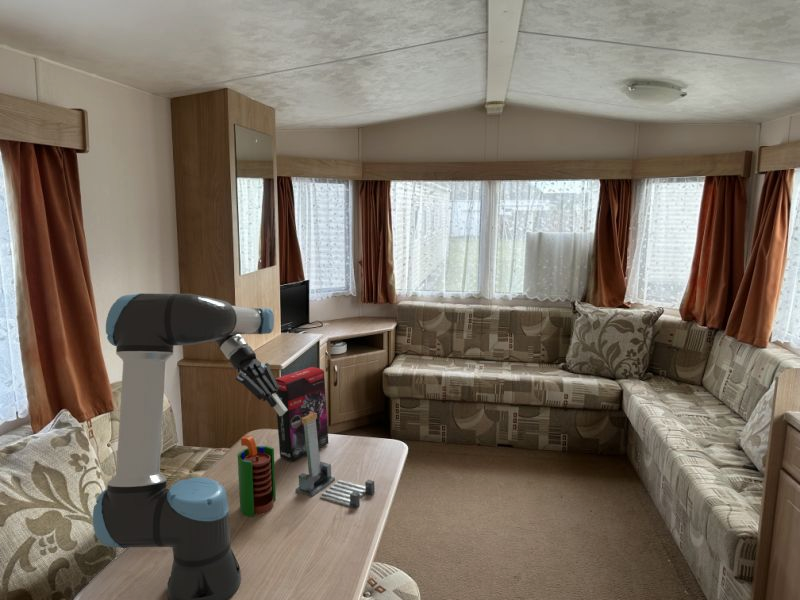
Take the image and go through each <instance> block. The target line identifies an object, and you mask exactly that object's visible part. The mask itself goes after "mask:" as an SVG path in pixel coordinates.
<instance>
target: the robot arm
mask: <svg viewBox="0 0 800 600" xmlns="http://www.w3.org/2000/svg"><path fill="white" fill-rule="evenodd" d="M272 310H273V309H271V308H263V307H261V308H251V307H245V306H238V305H232V304H231V303H229V302H227V301H226V300H223V299H217V298H213V297H210V296H205V295H199V294H193V293H136V294H135V293H134V294H125V295H122V296H120V297H119V298H117V299H116V300H115V301H114V302H113V304H112V305H111V307H110V309H109V310H108V312H107V317H106V319H105V320H106V322H105V333H106V335H107V337H106V339H107V341H108V343H110V344H111V345H112V346H114V347H115V348H116V350H115V354H116V355H117V356H118V358H120V359H121V360H122V377H121V378H122V379H121V392H120V407H119V422H118V423H119V424H118V439H117V441H118V442H117V455H116V467H115V468H116V470H115V471H116V473H115V475H114V476H113V477H112V478H111V479H110V480H109V481H107V488H106V489H104V490H102V491H101V492H100V493H99V494H98V496H97V498H96V500H95V503H96V504H94V506H93V511H92V527H93V530H94V534H95V536H96V538H97V539H98V540H99V542H100V543H101V544H102V545H104V546H106V547H111V548H112V547H113V548H120V549H128V548H172V553H173V554H172V555H173V562H172V566H171V572H170V576H169V578H168V581H167V586H166V589H167V597H168V600H228V599H229V598H231V597H232V596H233V595H234V594H235V593H236V592H237V591H238V589H239V587H240V586H241V581H242V574H241V573H242V572H241V567H240V564H239V562H238V560H237V558H236V556H235V554H234V552H233V549H232V547H231V534H230V521H229V519H230V518H229V517H230V515H229V507H230V506H229V502H228V498H227V497H228V496H227V491H226V489H225V487H224V486H223V485H222V484H221V483H220V482H219V481H217V480H215V479H211V478H209V477H200V476H199V477H188V479H181V480H178V481H177V482H175V483H173V484H171V486H170V487H169V488H168V487H167V484H168V483H167V482H168V481H167V480H168V479H167V477H166V476H165V475H164V474H163V473H162V472H161V470H160V469H161V453H162V437H163V436H162V434H163V432H162V431H163V418H164V417H163V416H164V414H163V413H164V412H163V411H164V396H165V395H164V393H165V375H166V362H167V360H169V359H170V358H171V357H172V356H173V355H174V346H190V345H196V344H197V345H198V344H201V343H209V342H213V341H214V342H215V344H216V345H217V346H218V347H219V349H220V350H221V351H222V353H223V354H224V357H225V358H226V359H227V360H229V362H230V364H231V365H232V367H233V368H234V370H236V371H237V372H238V375H237V376H236V377H235V380H236V381H237V382H239V383H241V384H242V386H245V388H246V389H247V390H248V391H250V392H251V393H252V394H253V396H255V397H256V399H258V400H262V401H263V402H265V401H266V402H267V403H268V404H269V406H270V407H271V408H273V410H275V413H276V414H277V413H278V415H279V416H282V415H283V414H284V413H285V412H286V411H287V410H288V409H287V408H286V407H285V405H284V404H283V403H282V400H281V398H280V397H279V396H278V394H277V391H278V389H279V386H278V384H277V382H276V380H275V378H276V377H275V376H274V375H273V372H272V370H271V368H270V366H271V365H270V363H268V362H266V363H262V362H261V361H260V360H259V359H258V358H257V356H256V351H254V350H253V348H252V347H251V346H249V344H248V342H247V341H246V339H245V338H244V337H243V336H242V335H265V334H267V335H268V334H271V333H272V332H273V330H274V325H275V316H274V313H273V311H272Z"/></svg>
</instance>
